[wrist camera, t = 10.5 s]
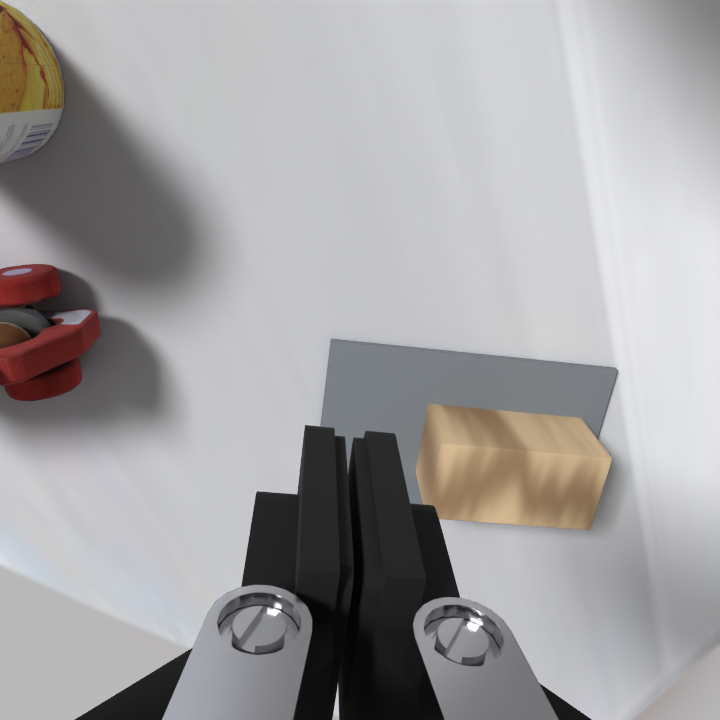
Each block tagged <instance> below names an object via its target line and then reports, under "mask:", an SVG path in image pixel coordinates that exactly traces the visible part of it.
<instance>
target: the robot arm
mask: <svg viewBox="0 0 720 720" xmlns="http://www.w3.org/2000/svg"><path fill="white" fill-rule="evenodd" d="M337 685H338V689H339V720H591V719H590V718H588V717H587V716H586V715H584V714H583V713H581V712H580V711H578V710H577V709H575V708H574V707H573V706H571V705H570V704H568V703H567V702H565V701H564V700H563V699H561V698H560V697H558V696H557V695H555V694H554V693H552V692H551V691H550V690H548V689H547V688H545V687H544V686H542V685H541V684H540V683H539V682H538V680H537V678H536V676H535V675H534V673H533V671H532V669H531V667H530V665H529V663H528V661H527V660H526V658H525V656H524V654H523V652H522V650H521V648H520V646H519V645H518V643H517V641H516V639H515V637H514V635H513V633H512V631H511V630H510V629H509V627H508V626H507V624H506V623H505V622H504V620H503V619H502V618H501V617H499V616H498V615H497V614H496V613H494V612H493V611H492V610H491V609H489V608H487V607H485V606H483V605H481V604H479V603H477V602H474V601H471V600H467V599H464V598H460V596H459V592H458V588H457V585H456V581H455V577H454V573H453V570H452V566H451V562H450V559H449V555H448V551H447V548H446V544H445V540H444V537H443V533H442V529H441V525H440V522H439V518H438V514H437V511H436V509H435V507H434V506H433V505H424V504H411V503H410V500H409V496H408V491H407V486H406V482H405V477H404V472H403V467H402V463H401V458H400V453H399V449H398V444H397V439H396V435H395V433H386V432H375V431H365V434H364V438H356V437H354V438H353V442H352V449H351V456H350V463H349V470H347V455H346V441H345V436H335V429H334V428H330V427H319V426H307V425H305V431H304V439H303V448H302V457H301V467H300V476H299V485H298V494H297V495H296V494H283V493H270V492H258V491H257V493H256V498H255V505H254V511H253V517H252V523H251V530H250V536H249V542H248V549H247V555H246V561H245V568H244V574H243V580H242V586H241V587H240V588H237V589H235V590H232V591H230V592H228V593H226V594H225V595H223V596H222V597H221V598H219V599H218V600H217V601H215V603H214V604H213V606H212V607H211V609H210V610H209V612H208V613H207V616H206V618H205V621H204V623H203V625H202V628H201V630H200V632H199V635H198V637H197V639H196V642H195V644H194V646H193V648H192V649H190V650H188V651H187V652H185V653H183V654H182V655H180V656H178V657H177V658H175V659H174V660H172V661H170V662H169V663H167V664H165V665H164V666H162V667H161V668H159V669H157V670H156V671H154V672H152V673H151V674H149V675H147V676H146V677H144V678H142V679H141V680H139V681H137V682H136V683H134V684H133V685H131V686H129V687H128V688H126V689H124V690H123V691H121V692H119V693H118V694H116V695H115V696H113V697H111V698H110V699H108V700H107V701H105V702H103V703H101V704H100V705H98V706H97V707H95V708H93V709H92V710H90V711H88V712H87V713H85V714H83V715H82V716H80V717H78V718H77V719H75V720H332V717H333V711H334V704H335V698H336V692H337Z"/></svg>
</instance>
